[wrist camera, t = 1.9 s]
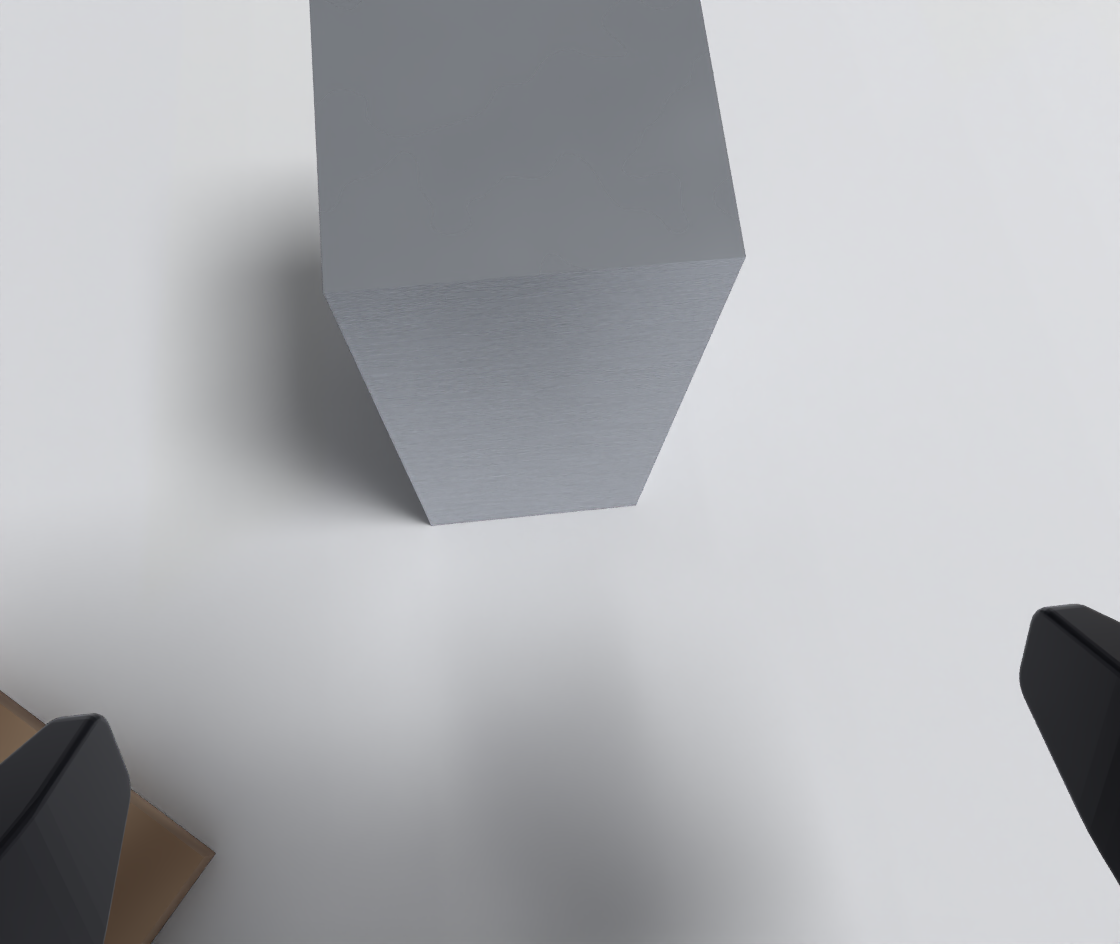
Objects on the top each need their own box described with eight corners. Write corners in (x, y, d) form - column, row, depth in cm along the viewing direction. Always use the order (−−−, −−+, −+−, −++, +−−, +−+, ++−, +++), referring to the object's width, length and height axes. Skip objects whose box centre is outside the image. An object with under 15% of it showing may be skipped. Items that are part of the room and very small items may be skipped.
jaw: (604, 268, 25) (670, -166, 13) (635, 505, 23) (745, 257, 11) (413, 284, 25) (302, -145, 13) (431, 525, 23) (323, 293, 11)
